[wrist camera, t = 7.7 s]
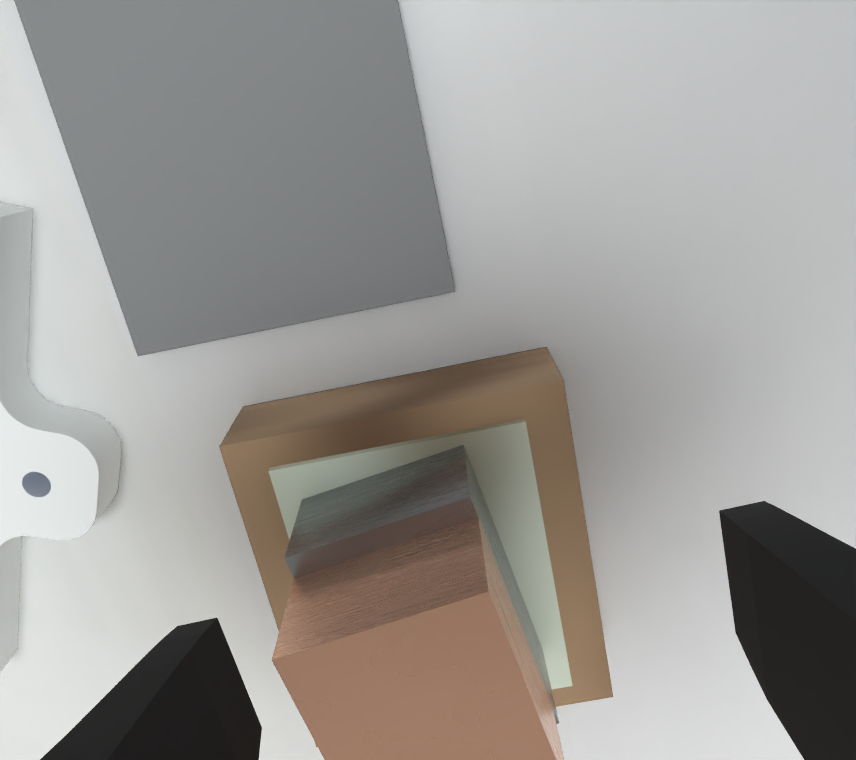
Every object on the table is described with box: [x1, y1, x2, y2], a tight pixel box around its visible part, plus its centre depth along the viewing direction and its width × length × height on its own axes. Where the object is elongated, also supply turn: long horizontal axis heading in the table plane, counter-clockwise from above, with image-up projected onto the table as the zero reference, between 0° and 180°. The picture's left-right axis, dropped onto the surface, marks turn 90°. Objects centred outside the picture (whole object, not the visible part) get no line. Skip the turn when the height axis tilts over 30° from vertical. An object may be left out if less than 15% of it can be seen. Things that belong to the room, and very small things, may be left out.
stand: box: [219, 347, 613, 747], centre depth 20 cm, size 8×9×3 cm
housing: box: [272, 445, 564, 760], centre depth 17 cm, size 4×6×5 cm, turn 20°
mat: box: [14, 0, 455, 356], centre depth 18 cm, size 8×9×1 cm
